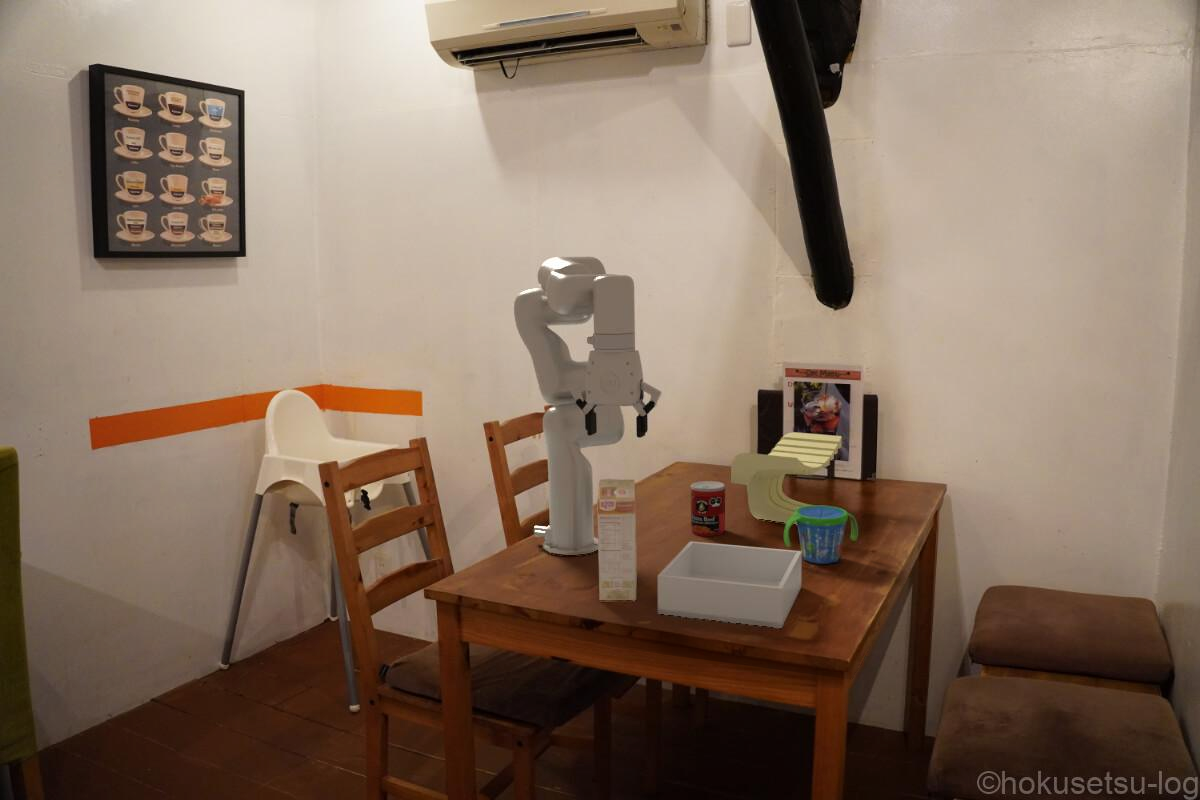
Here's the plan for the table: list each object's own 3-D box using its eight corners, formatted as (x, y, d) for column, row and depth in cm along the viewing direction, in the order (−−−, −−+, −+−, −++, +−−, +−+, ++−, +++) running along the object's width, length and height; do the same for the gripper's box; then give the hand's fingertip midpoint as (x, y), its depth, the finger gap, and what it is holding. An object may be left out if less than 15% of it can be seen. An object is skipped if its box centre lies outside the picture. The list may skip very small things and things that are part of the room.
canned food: (685, 534, 213) (685, 487, 212) (698, 525, 220) (698, 479, 219) (717, 538, 210) (717, 490, 208) (729, 529, 217) (729, 482, 215)
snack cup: (791, 569, 188) (791, 519, 186) (776, 553, 198) (776, 506, 197) (866, 565, 189) (868, 516, 188) (848, 550, 200) (849, 503, 198)
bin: (657, 614, 165) (657, 575, 164) (690, 575, 185) (689, 541, 184) (781, 628, 157) (781, 588, 156) (801, 587, 177) (801, 551, 176)
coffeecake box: (600, 575, 186) (599, 478, 183) (636, 575, 186) (635, 478, 183) (597, 602, 171) (595, 497, 169) (636, 601, 171) (635, 497, 168)
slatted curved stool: (780, 498, 244) (781, 431, 242) (840, 506, 236) (841, 436, 233) (730, 526, 219) (731, 451, 217) (795, 535, 211) (796, 457, 208)
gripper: (563, 344, 171) (565, 436, 174) (653, 345, 165) (655, 440, 168) (578, 341, 178) (580, 430, 181) (665, 341, 172) (666, 434, 175)
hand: (616, 435), depth 174 cm, fingers open, 9 cm apart
